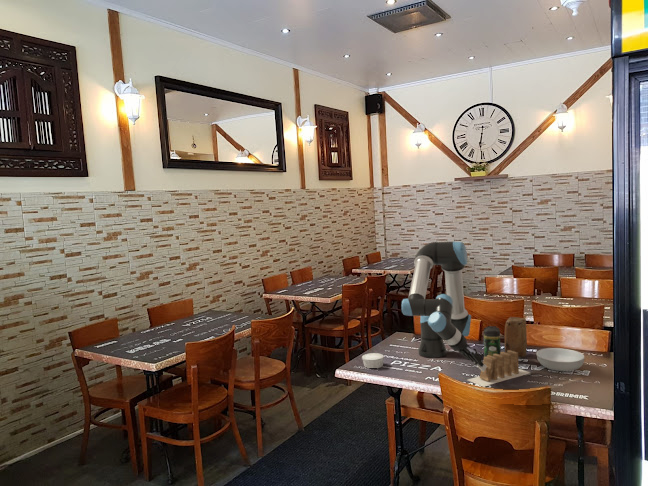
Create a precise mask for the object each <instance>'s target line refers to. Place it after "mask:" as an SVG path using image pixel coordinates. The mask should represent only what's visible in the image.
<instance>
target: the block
mask: <svg viewBox="0 0 648 486" xmlns="http://www.w3.org/2000/svg"><path fill="white" fill-rule="evenodd" d="M527 334H528V332H527V321H526V318H523V317H519V316H517V317H516V316H510V317H509V318H507V320H506V322H505V325H504V352H505V353H507V351H508V350H511V351H515V352H518V358H525V357H526V356H527V347H528V346H527V345H528V341H527V340H528V337H527Z"/></svg>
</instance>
